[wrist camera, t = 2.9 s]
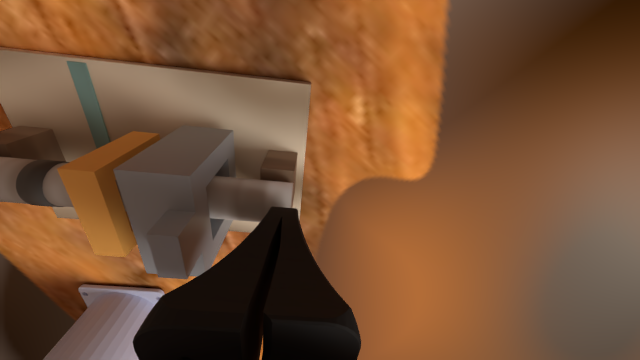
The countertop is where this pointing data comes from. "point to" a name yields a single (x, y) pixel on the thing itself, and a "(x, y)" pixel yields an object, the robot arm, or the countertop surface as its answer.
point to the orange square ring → (104, 193)
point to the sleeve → (177, 199)
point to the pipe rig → (148, 126)
